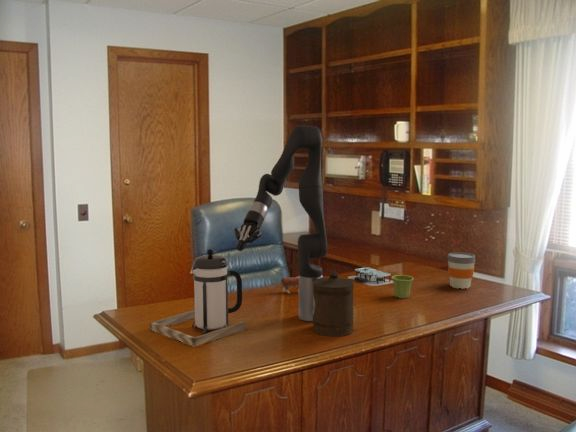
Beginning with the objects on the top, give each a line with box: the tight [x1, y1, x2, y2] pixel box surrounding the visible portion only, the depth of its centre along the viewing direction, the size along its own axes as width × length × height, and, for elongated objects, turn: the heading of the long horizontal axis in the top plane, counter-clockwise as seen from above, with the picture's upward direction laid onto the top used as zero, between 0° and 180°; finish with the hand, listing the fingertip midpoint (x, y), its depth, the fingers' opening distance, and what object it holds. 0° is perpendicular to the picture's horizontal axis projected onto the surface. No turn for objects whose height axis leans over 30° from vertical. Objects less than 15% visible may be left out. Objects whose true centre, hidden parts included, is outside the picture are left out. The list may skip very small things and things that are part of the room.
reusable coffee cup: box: [447, 252, 476, 290], centre depth 272 cm, size 13×13×15 cm
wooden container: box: [312, 270, 355, 337], centre depth 211 cm, size 15×15×22 cm
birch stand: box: [149, 309, 247, 346], centre depth 212 cm, size 25×24×3 cm
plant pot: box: [391, 274, 414, 299], centre depth 255 cm, size 9×9×9 cm
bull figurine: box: [280, 276, 299, 295], centre depth 261 cm, size 4×13×8 cm, turn 89°
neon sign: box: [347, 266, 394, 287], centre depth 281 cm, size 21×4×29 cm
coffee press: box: [189, 248, 243, 335], centre depth 213 cm, size 17×16×30 cm
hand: (239, 249), depth 230 cm, fingers closed
